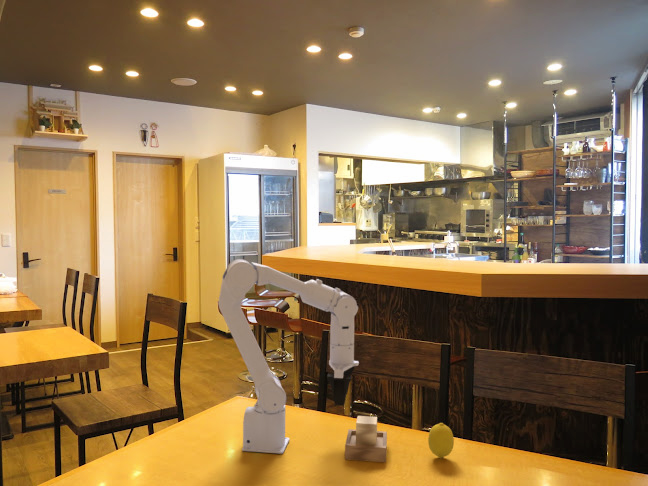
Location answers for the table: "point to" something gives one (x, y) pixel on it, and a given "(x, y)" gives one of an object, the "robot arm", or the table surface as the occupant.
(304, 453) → the table surface
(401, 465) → the table surface
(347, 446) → the tray
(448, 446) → the lemon
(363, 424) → the block
